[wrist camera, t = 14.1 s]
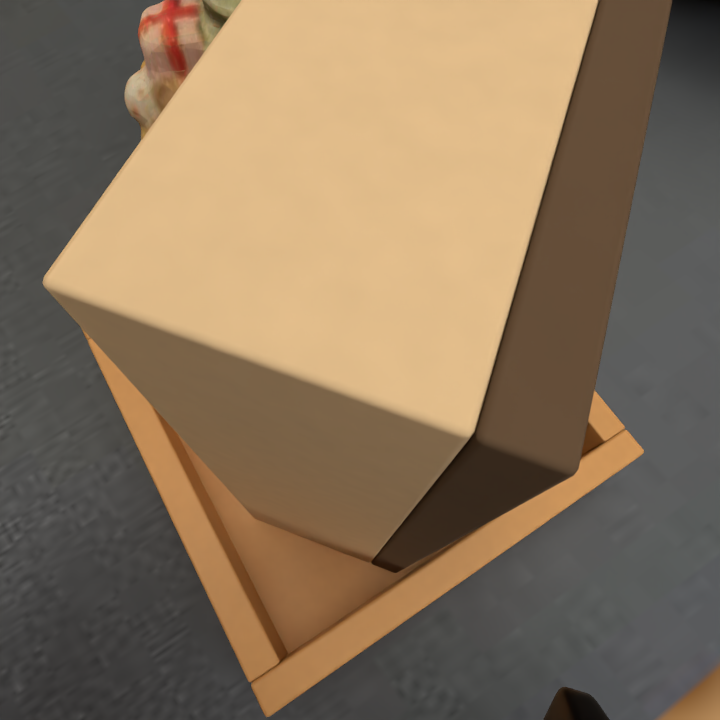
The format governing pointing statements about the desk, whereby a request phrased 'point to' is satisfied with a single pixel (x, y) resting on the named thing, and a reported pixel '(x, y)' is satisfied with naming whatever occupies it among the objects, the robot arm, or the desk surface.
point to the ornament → (171, 51)
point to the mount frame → (322, 555)
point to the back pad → (378, 256)
